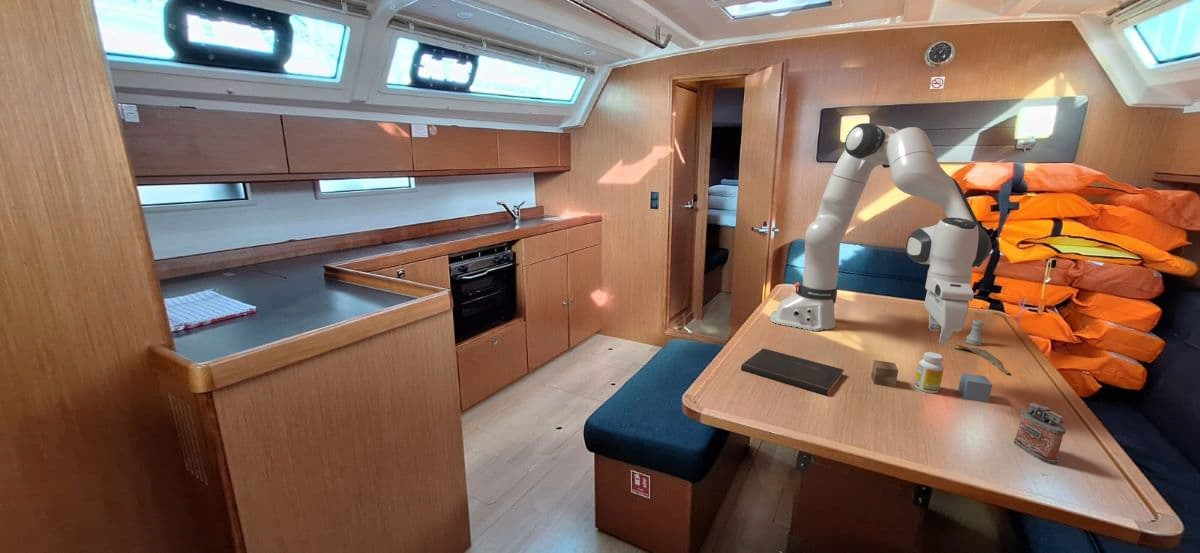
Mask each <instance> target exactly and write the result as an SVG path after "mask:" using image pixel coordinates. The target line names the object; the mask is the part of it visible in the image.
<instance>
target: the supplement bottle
mask: <svg viewBox="0 0 1200 553" xmlns="http://www.w3.org/2000/svg"><path fill="white" fill-rule="evenodd" d="M942 362H943V355H942V354H939V353H936V352H931V351H926V352H924V353H923V358H922V359H920V360H919V361H918V365H917V371H916V377H915V380H914V387H915V388H916V389H917V390H919V391H921V392H924V393H928V394H929V393H930V394H936V393H938V392H940V391H939V390H940V387H941V383H942V378H943V374H944V367H945V366H944V364H942Z"/></svg>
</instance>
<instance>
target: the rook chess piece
mask: <svg viewBox="0 0 1200 553" xmlns="http://www.w3.org/2000/svg"><path fill="white" fill-rule="evenodd" d="M970 323H971V324H972V325H971V330H970V331H969V332H970V333H969V334H968V335H967V336H966V338H965V340H964V342H965V343H966V342H967V344H968V345H971V344H972V345H971V346H977V345H979V346H981V345H982V344H983V343H982V342H983V339H982V336H981V331H982V330H983V328H982V327H983V326H984V325H985V323H984V320H982V319H979V318H978V319H976V318H975V319H974V318H973V320H972V321H971V322H970Z"/></svg>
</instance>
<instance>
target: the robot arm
mask: <svg viewBox="0 0 1200 553" xmlns="http://www.w3.org/2000/svg"><path fill="white" fill-rule="evenodd" d="M844 142H845V143H844V151H843V152H842V153H841V155H840V157H839V158H838V161H837V163H836V164H835V166H834V168H833V171H832V172H831V175H830V177H829V180H828V181H827V182H828V183H827V185H826V187H825V189H824V193H823V194H822V198H821V202H820V205H819V208H818V211H817V213H816V217H815V219H814V221H812V222H810V223H809V225H808V226H807V228H806V229H805V236H804V237H805V239H804V240H805V241H804V267H803V268H804V269H803V276H802V277H803V278H802V283H800V282H796V283H794V287H795V293H793V294H792V295H790V296H788V297H786V298H784V299H782V300H781V301H780V302H779V304H778V305H777V309H776V310H775V311H773V312H771V313H770V316H769V320H770V322H771V323H773V322H774V323H773V324H775V323H776V324H775V325H780V324H781V326H785V325H786V327H791V326H792V327H791V328H796V327H798V328H797V329H801V328H803V329H802V330H807V329H808V331H812V330H814V331H813V332H820V331H824V330H823V329H825V330H830V329H831V330H832V329H835V328H836V327H837V324H836V316H835V315H836V314H835V303H836V302H837V297H838V287H837V283H838V276H839V269H840V249H841V248H840V247H841V242H842V240H843V239H844V238H845V235H846V233H847V230H848V228H849V225H850V223H851V220H852V218H853V215H854V213H855V210H856V207H857V205H858V203H859V200H860V199H861V197H862V194H863V192H864V190H865V188H866V185H867V183H868V180H869V179H870V175H871V173H872V171H873V170H874V169H875V168H876V167H878V166H882V167H883V168H884V169H887V168H889V170H890V175H891V176H890V177H891V179H892V181H893V184H894V185H895V187H896V188H897V189H898V190H900V191H901V192H903V193H904V194H907V195H910V196H913V197H917V198H921V199H924V200H927V201H930V202H932V203H934V204H936V205H937V206H939V207H940V208H941V209H942V210H943V212H944V214H945V218H942V219H940V220H939V221H938V223H936V224H935V225H931V226H926V227H921V228H917V229H915V230H914V231H913V232H912V233H911V234H910V235H909V236H908V238H907V239H906V246H905V251H906V254H907V256H908V257H909V258H910V260H912V262H914V263H918V264H922V265H929V268H928V270H927V275H926V281H925V286H924V287H925V289H926V295H925V298H924V305H923V306H924V309H925V310H926V311H927V312H928V313H929V314H928V322H929V324H928V329H929V331H930V332H934V333H937V332H938V331H939V326H940V330H941V331H940V334H938V339H937V341H938V343H939V344H940V345H948V344H949V343H950V342H949V341H950V338H951V337H952V335H953V333H954V332H955V333H959V332H961V331H962V330H963V328H964V326H965V323H966V320H967V317H968V313H969V308H970V302H972V301H973V300H974V296H975V292H974V290H973V289H972V277H973V269H972V268H974V267H976V266H979V265H980V264H981V263H983V262H984V261H985V260H986V259H988V257H989V256H990V254H991V252H992V248H993V247H992V240H991V238H990V236H989V235H988V233H987V232H986V231H985V229H984V228H983V227H982V226H981V224H980V223H979V220H978V219H977V217H976V215H975V213H974V211H973V209H972V207H971V205H970V203H969V200H968V199H967V197H966V195H965V193H964V191H963V189H962V188H961V186H960V184H959V183H958V182H957V180H956V179H955V178H953V176H950V175H949V174H948V173H947V172H946V171H945V170H944V169H943V167H942V166H941V165H940V163H939V161H938V159H937V156H936V153H935V149H934V147H933V144H932V141H931V140H930V139H929V136H928V135H927V134H926V131H925V130H924V129H921V128H919V127H917V126H910V127H909V126H908V127H904V128H902V129H899V128H897V127H896V128H895V127H892V126H884V125H879V124H878V125H877V124H875V123H871V122H870V123H868V122H865V123H858V124H857V125H854V127H852V129H851V130H850V131H849V132H848V134H847V135H846V138H845V141H844ZM819 330H820V331H819Z"/></svg>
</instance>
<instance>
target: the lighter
mask: <svg viewBox="0 0 1200 553" xmlns="http://www.w3.org/2000/svg"><path fill="white" fill-rule="evenodd" d="M1064 421H1065V418H1064V417H1063V416H1062V415H1060V414H1058V413H1056V412H1054V411H1051V409H1050V408H1049V407H1048V406H1041V405H1039V404H1037V403H1033V402H1032V403H1031V402H1030V404H1029V409H1021V411H1020V420H1019V424H1018V428H1017V431H1016V432H1017V433H1016V435H1015V437H1014V439H1013V444H1014V445H1016V446H1017V447H1018V448H1019V449H1021V450H1023V451H1024V452H1025V453H1027V454H1029V455H1030V456H1032V457H1034V458H1035V459H1038V460H1039V461H1041V462H1043V463H1045V464H1048V465H1056V464H1058V455H1059V452H1060V448H1061V445H1062V442H1063V437H1064V435H1065V434H1066V432H1067V429H1066V428H1065V427H1064V426H1062V424H1064Z"/></svg>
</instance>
